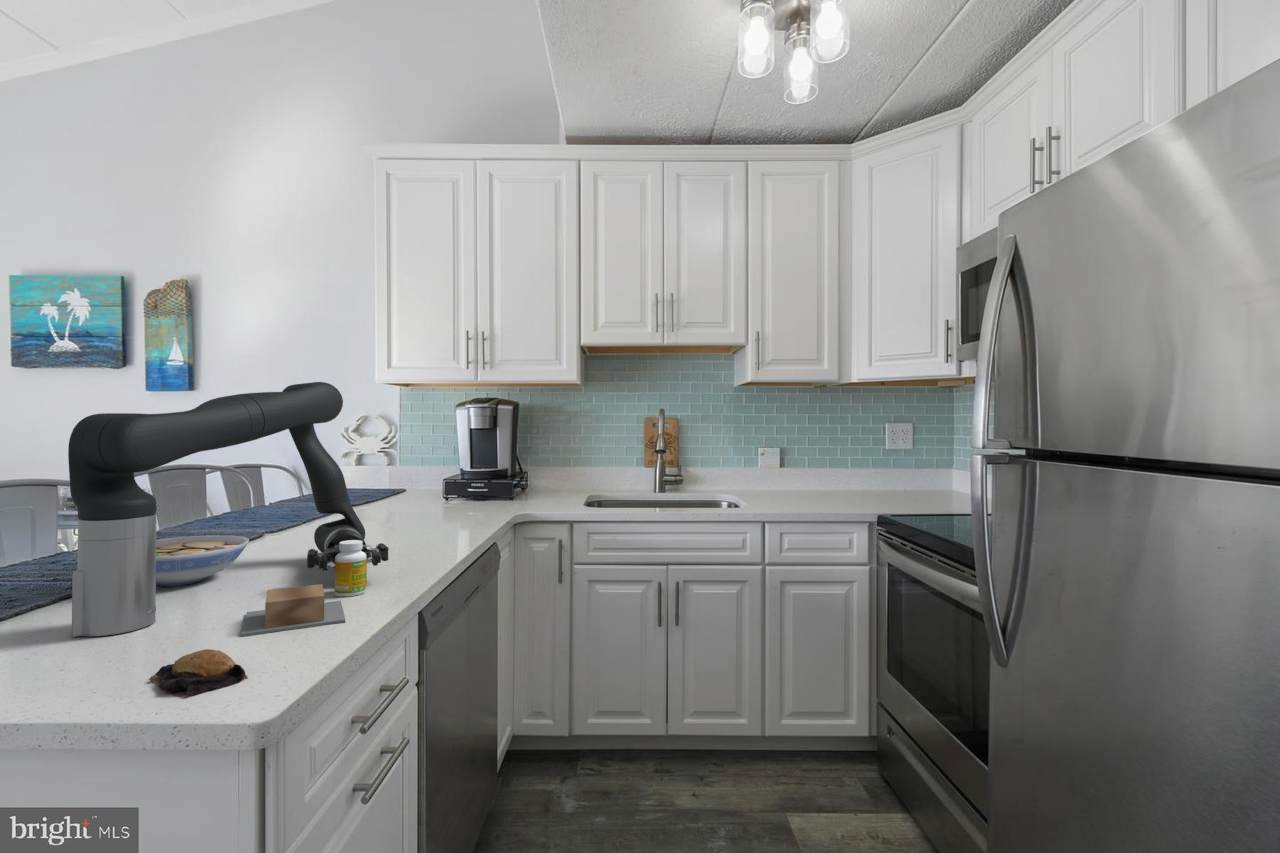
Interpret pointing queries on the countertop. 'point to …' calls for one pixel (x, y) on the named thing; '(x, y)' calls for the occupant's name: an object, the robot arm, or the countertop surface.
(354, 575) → the supplement bottle
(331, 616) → the mat
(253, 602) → the countertop surface
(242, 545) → the ramen bowl
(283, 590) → the walnut block
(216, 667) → the bread roll
